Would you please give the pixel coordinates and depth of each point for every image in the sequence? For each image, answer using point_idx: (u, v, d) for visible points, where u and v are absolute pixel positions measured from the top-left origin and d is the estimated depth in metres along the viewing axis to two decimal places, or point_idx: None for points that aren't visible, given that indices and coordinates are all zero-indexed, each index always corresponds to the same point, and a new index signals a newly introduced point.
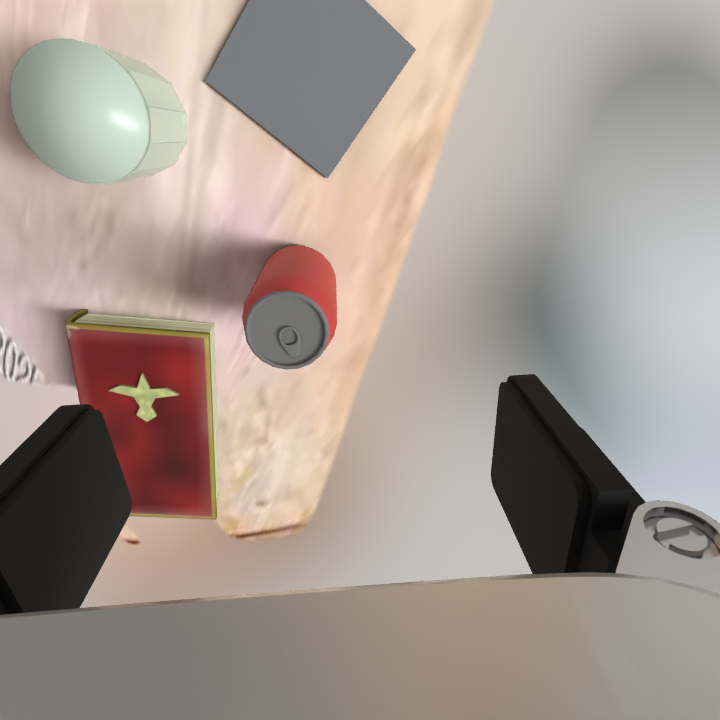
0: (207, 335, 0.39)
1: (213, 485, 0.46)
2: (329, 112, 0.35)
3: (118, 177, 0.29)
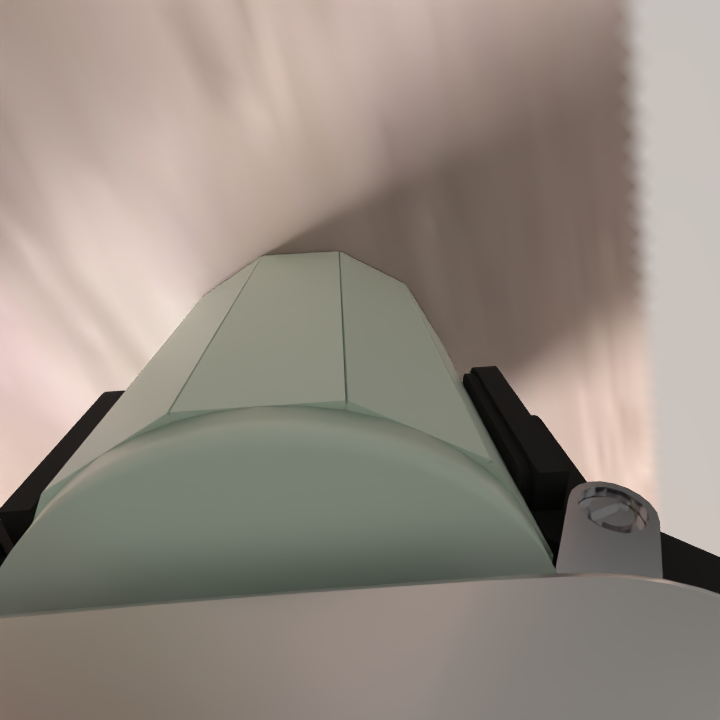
0: None
1: None
2: None
3: None
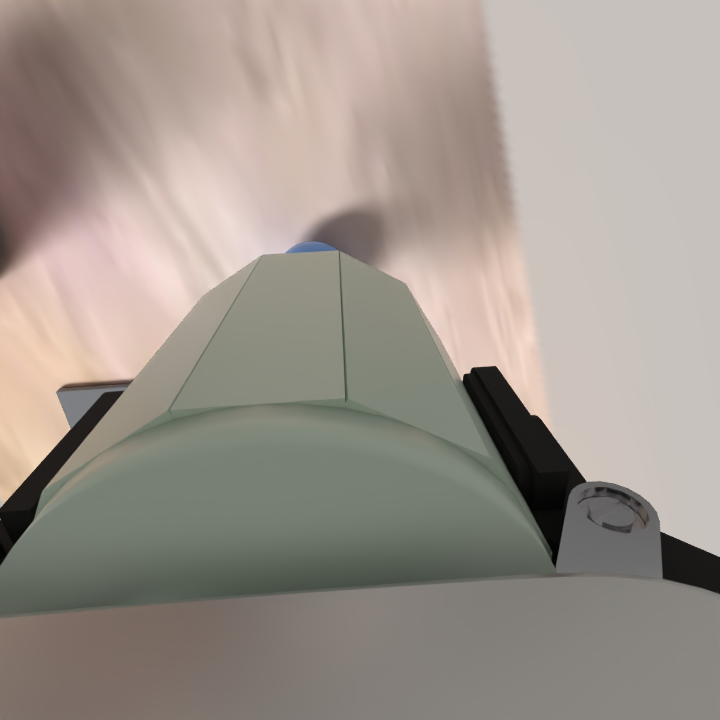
0: None
1: None
2: None
3: None
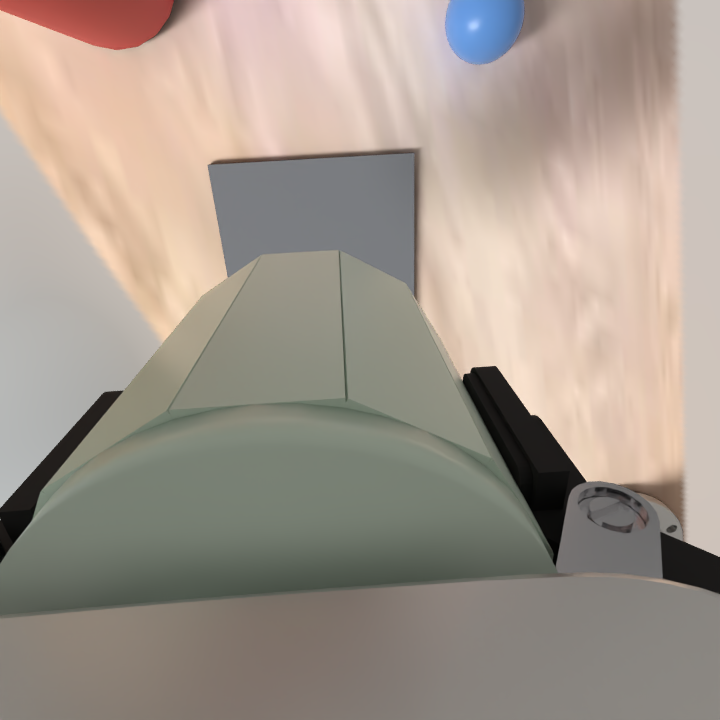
0: None
1: None
2: (267, 236, 0.26)
3: None
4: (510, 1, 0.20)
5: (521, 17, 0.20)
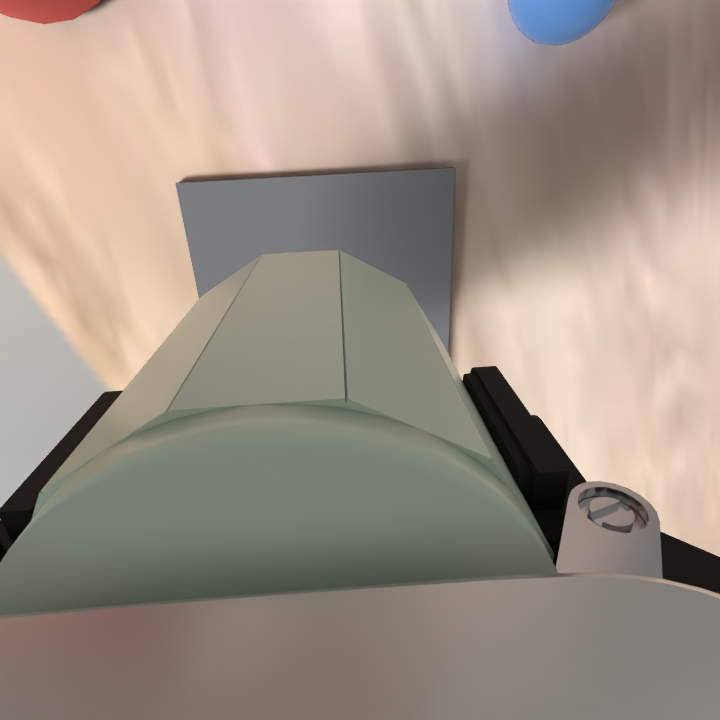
0: None
1: None
2: None
3: None
4: None
5: None
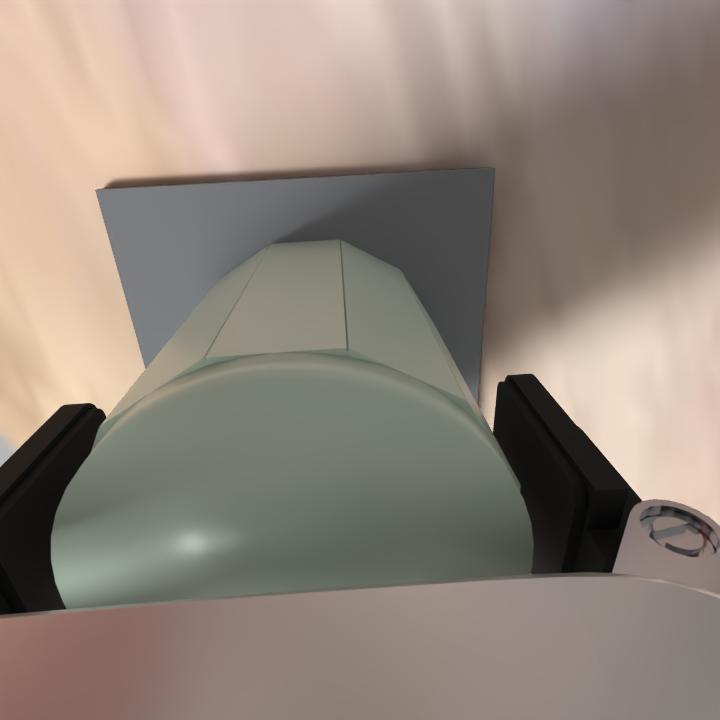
0: None
1: None
2: None
3: (60, 514, 0.07)
4: None
5: None
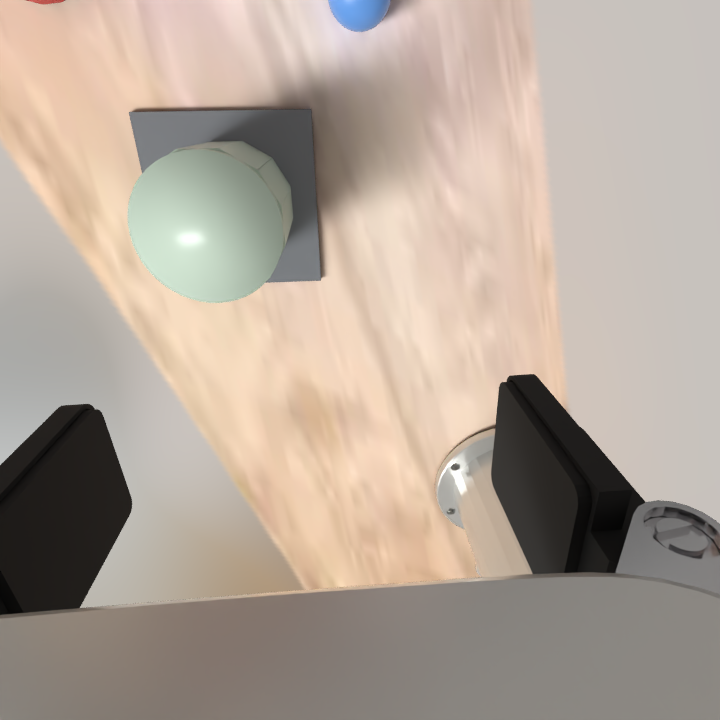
0: None
1: None
2: None
3: (132, 195, 0.22)
4: None
5: None
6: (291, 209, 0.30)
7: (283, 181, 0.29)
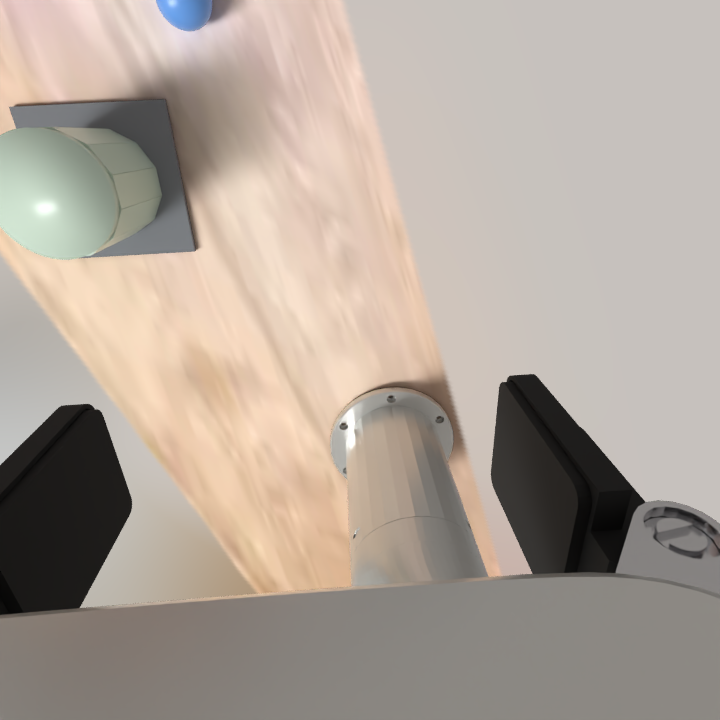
0: None
1: None
2: None
3: None
4: None
5: None
6: (155, 186, 0.35)
7: (141, 161, 0.34)
